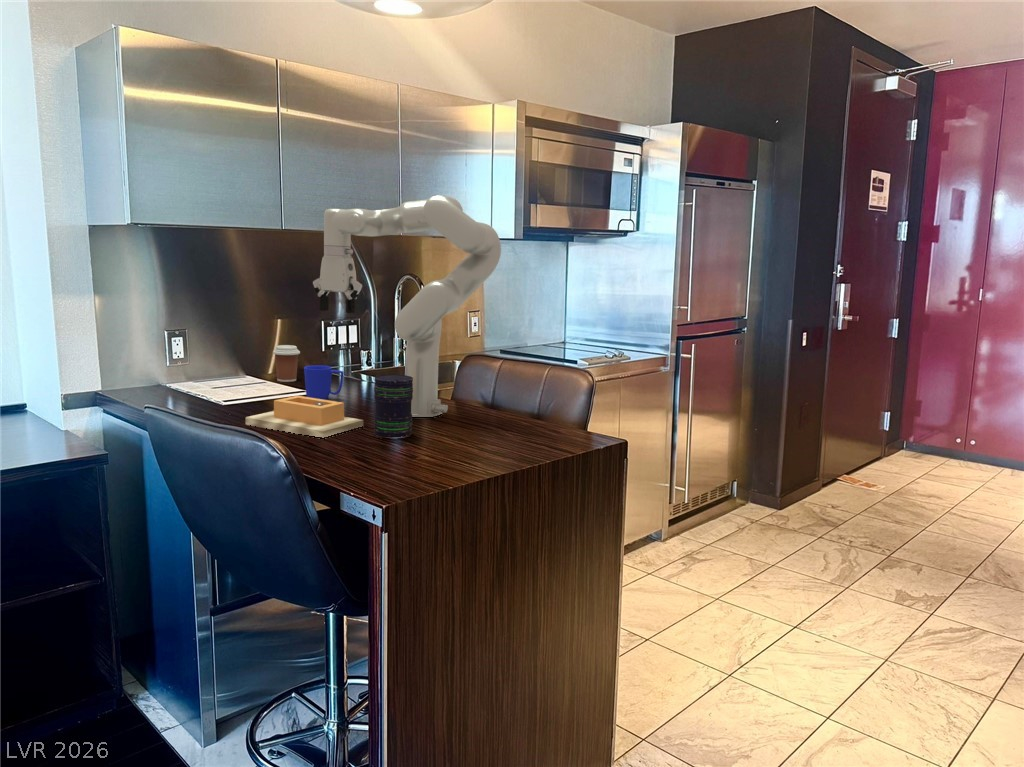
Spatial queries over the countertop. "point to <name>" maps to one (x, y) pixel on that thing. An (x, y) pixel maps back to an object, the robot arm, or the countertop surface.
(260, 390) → the countertop surface
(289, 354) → the coffee cup
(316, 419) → the orange rectangular frame
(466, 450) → the countertop surface
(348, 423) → the backing board
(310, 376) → the mug
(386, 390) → the storage jar
